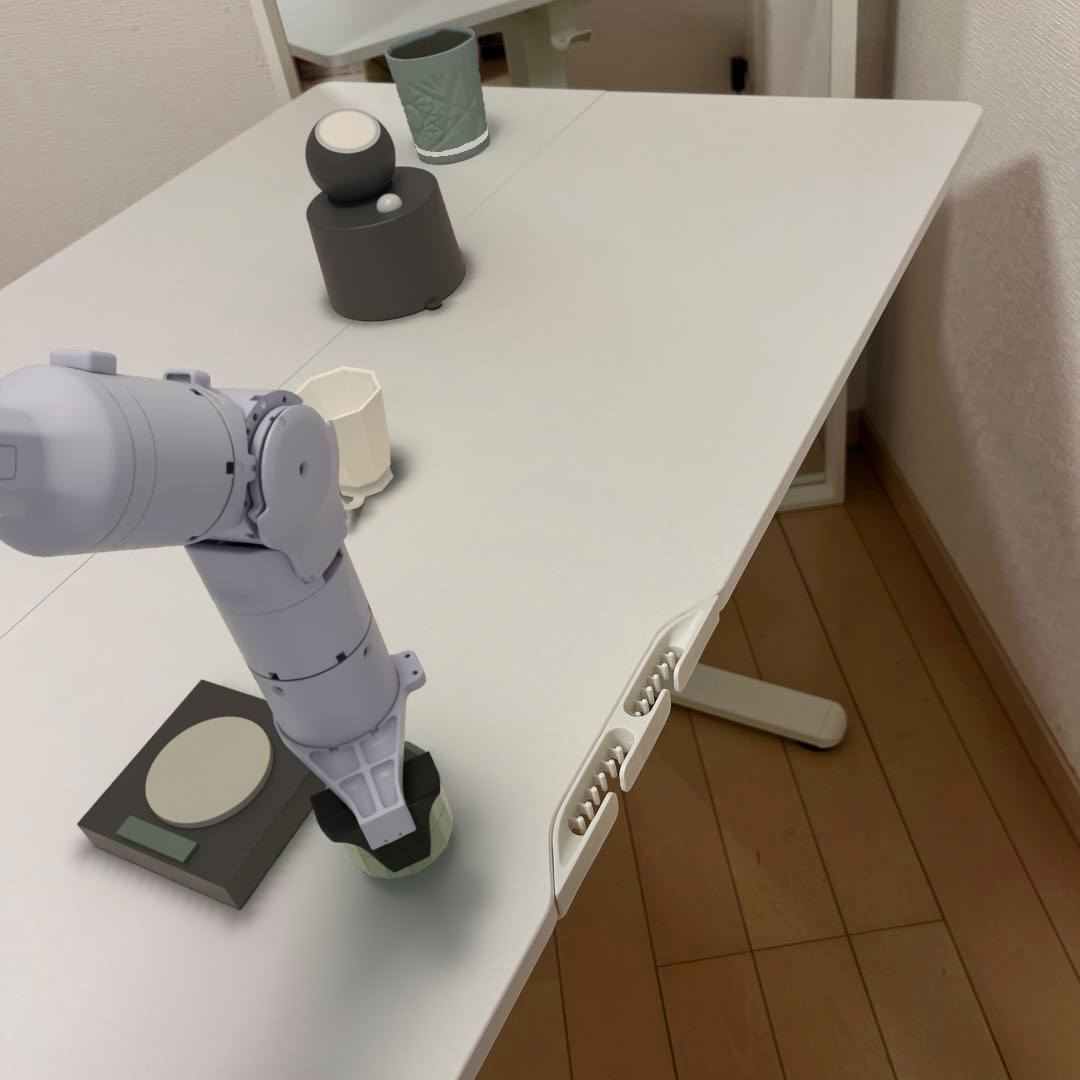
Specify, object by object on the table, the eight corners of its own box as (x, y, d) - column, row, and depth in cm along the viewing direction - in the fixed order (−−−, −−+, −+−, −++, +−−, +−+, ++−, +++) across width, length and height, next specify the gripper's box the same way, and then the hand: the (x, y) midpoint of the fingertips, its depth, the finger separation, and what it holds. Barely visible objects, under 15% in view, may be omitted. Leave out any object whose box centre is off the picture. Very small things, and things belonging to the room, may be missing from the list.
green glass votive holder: (406, 903, 55) (381, 853, 52) (329, 852, 58) (301, 802, 55) (476, 818, 58) (457, 767, 55) (399, 775, 61) (377, 724, 58)
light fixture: (321, 170, 88) (249, 133, 98) (376, 340, 99) (306, 291, 108) (457, 109, 93) (376, 78, 103) (497, 277, 103) (419, 235, 113)
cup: (417, 446, 86) (388, 359, 80) (396, 533, 78) (364, 443, 73) (331, 456, 87) (297, 370, 82) (302, 542, 80) (264, 454, 74)
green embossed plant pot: (407, 172, 126) (377, 65, 118) (417, 136, 133) (391, 34, 125) (493, 158, 124) (470, 49, 116) (499, 123, 132) (478, 18, 124)
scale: (239, 910, 58) (220, 881, 56) (93, 845, 63) (70, 817, 61) (355, 748, 64) (340, 718, 63) (214, 701, 69) (197, 672, 68)
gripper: (447, 705, 43) (515, 890, 52) (350, 504, 53) (421, 686, 62) (274, 782, 41) (375, 958, 50) (210, 560, 52) (302, 738, 61)
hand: (391, 812), depth 56 cm, fingers closed on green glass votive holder, 6 cm apart
